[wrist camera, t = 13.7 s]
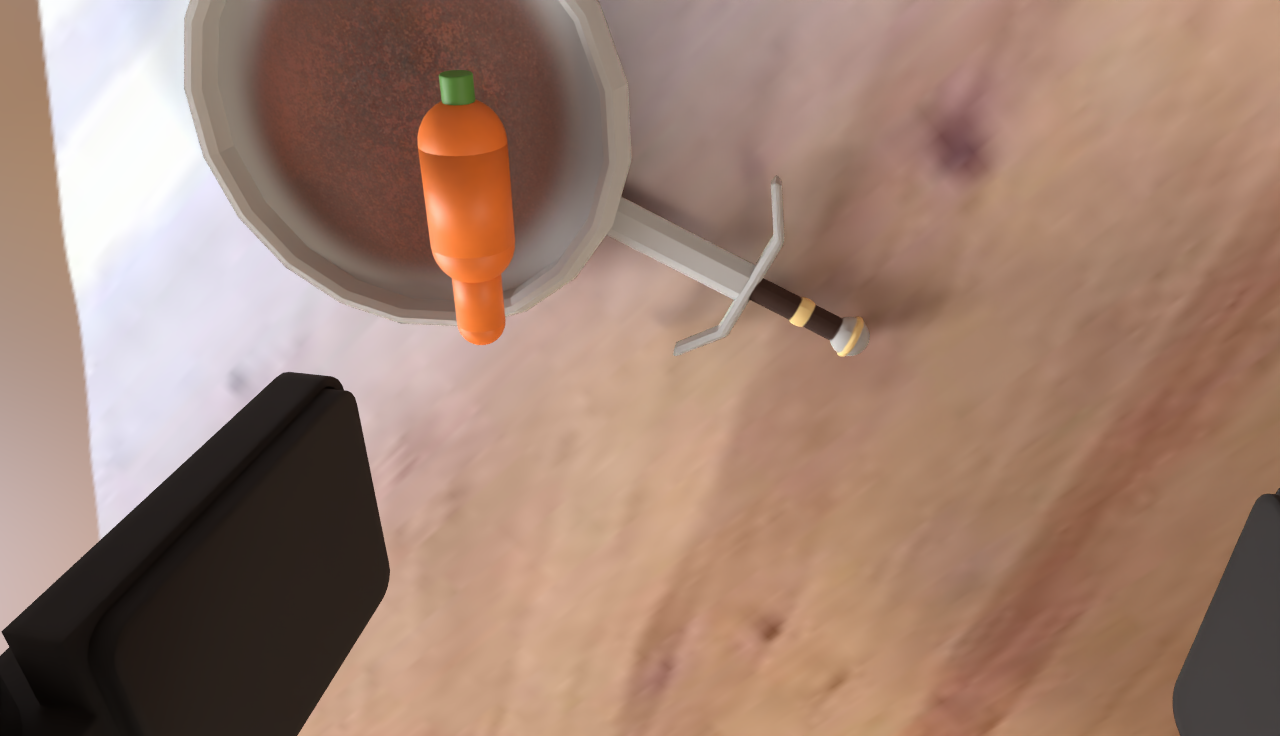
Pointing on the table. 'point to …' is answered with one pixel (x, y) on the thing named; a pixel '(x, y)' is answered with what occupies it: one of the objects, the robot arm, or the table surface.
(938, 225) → the table surface
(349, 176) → the frying pan
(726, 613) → the table surface
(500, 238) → the carrot
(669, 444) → the table surface
